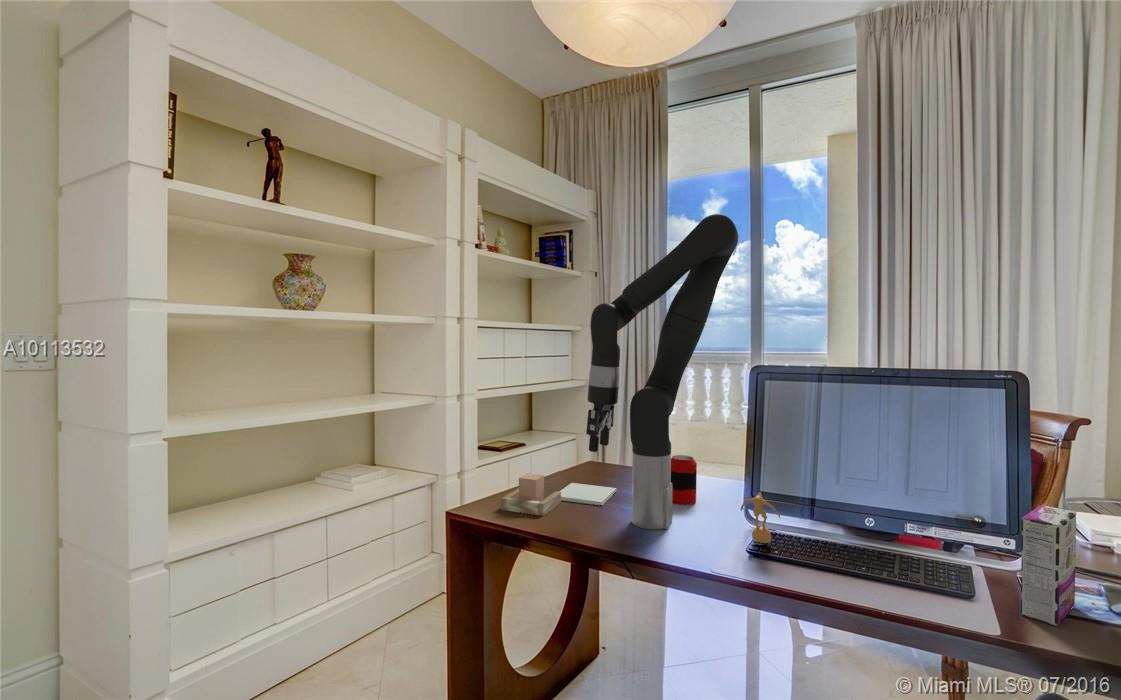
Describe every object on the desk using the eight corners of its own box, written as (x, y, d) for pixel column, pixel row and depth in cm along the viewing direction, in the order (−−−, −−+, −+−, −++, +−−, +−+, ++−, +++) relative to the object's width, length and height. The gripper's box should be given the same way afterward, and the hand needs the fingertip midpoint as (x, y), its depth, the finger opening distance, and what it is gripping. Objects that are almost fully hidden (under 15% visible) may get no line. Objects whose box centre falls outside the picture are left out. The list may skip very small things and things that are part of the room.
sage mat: (616, 491, 156) (616, 488, 156) (601, 505, 143) (601, 502, 143) (571, 486, 161) (571, 482, 161) (553, 499, 148) (553, 495, 148)
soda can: (695, 506, 143) (696, 461, 143) (667, 503, 145) (667, 459, 145) (696, 497, 151) (696, 455, 150) (668, 495, 153) (669, 453, 152)
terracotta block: (543, 505, 144) (543, 475, 143) (535, 510, 139) (536, 480, 139) (526, 502, 145) (527, 473, 145) (518, 508, 141) (518, 478, 141)
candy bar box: (1036, 595, 95) (1039, 503, 95) (1075, 607, 91) (1078, 511, 90) (1017, 614, 88) (1020, 516, 88) (1057, 628, 84) (1061, 525, 84)
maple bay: (560, 502, 146) (560, 491, 145) (543, 515, 135) (543, 504, 135) (521, 497, 150) (521, 486, 150) (501, 509, 139) (501, 498, 139)
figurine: (783, 547, 116) (784, 492, 116) (776, 556, 111) (777, 498, 111) (745, 538, 121) (746, 485, 121) (736, 546, 116) (737, 491, 116)
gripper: (609, 388, 126) (604, 456, 127) (625, 383, 139) (621, 445, 140) (579, 384, 128) (574, 451, 129) (598, 380, 142) (593, 440, 143)
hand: (598, 448), depth 135 cm, fingers open, 8 cm apart
